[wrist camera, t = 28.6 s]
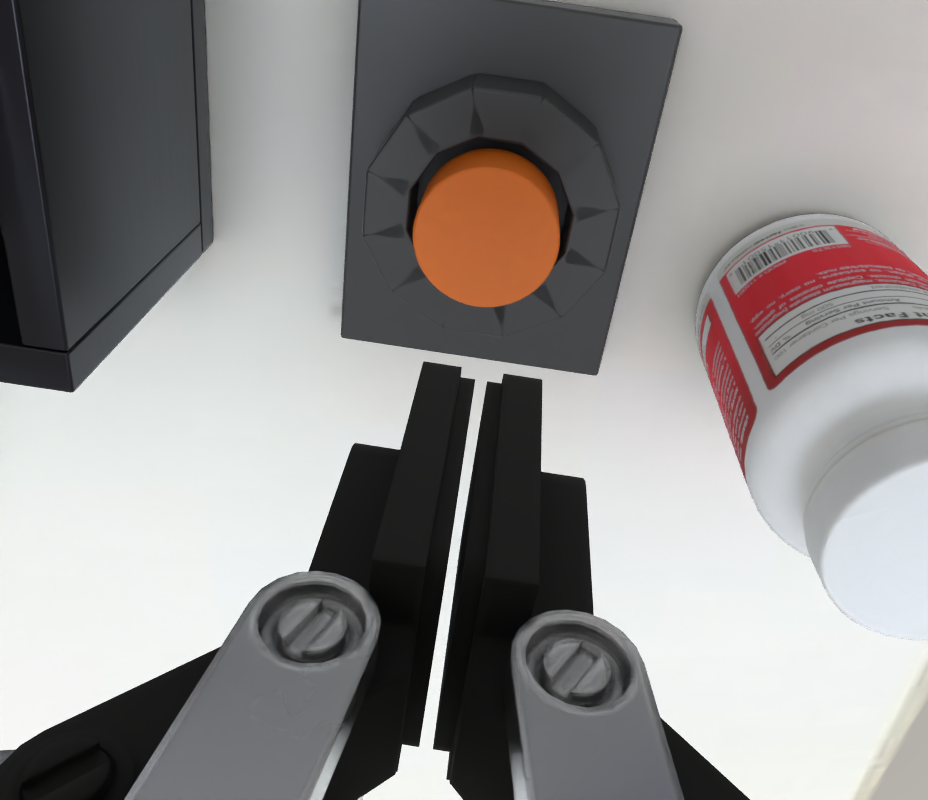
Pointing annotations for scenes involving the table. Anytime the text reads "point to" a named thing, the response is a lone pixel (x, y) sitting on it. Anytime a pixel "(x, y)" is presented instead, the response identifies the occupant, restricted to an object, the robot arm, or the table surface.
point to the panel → (508, 128)
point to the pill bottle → (830, 404)
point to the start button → (487, 228)
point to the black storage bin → (96, 175)
